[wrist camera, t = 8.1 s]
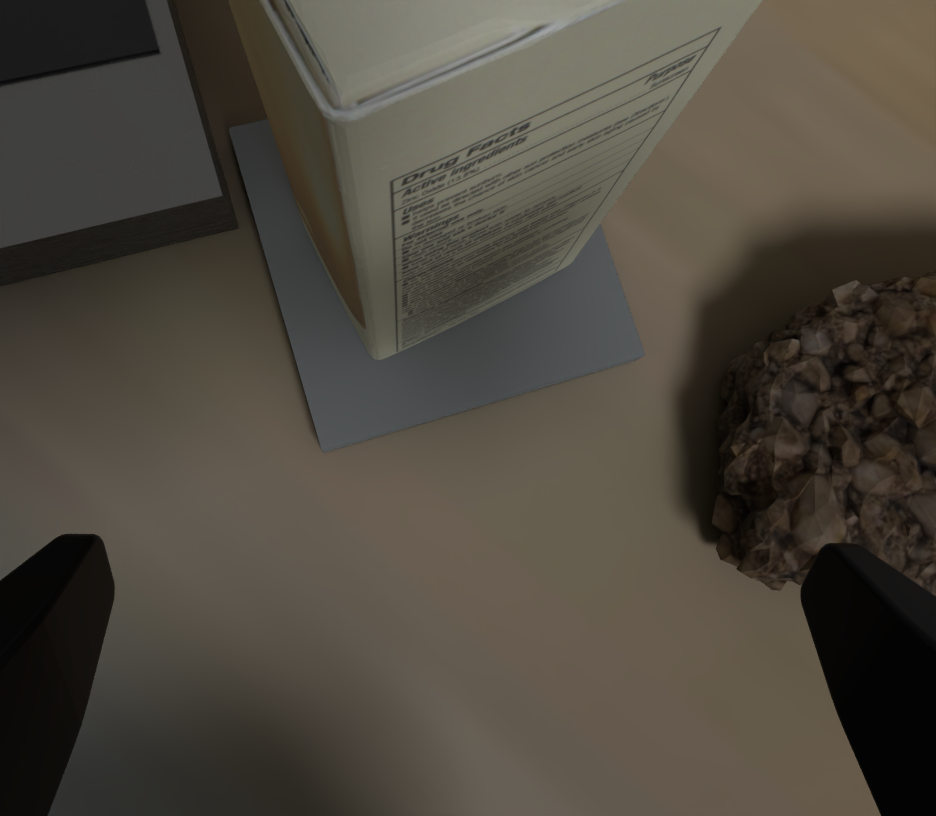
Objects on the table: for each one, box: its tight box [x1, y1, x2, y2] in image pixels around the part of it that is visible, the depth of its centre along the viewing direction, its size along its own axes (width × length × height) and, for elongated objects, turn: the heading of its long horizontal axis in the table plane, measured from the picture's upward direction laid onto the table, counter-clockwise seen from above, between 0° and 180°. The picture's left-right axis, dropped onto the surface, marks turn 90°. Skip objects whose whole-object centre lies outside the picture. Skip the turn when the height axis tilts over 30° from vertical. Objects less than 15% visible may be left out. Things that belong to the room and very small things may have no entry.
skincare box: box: [228, 0, 762, 360], centre depth 13 cm, size 6×4×12 cm
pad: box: [228, 119, 645, 453], centre depth 20 cm, size 9×9×1 cm
